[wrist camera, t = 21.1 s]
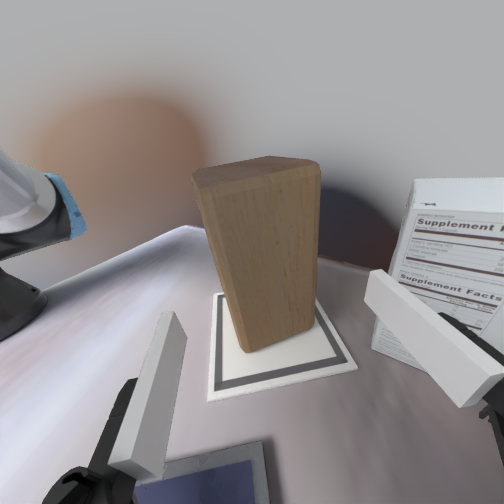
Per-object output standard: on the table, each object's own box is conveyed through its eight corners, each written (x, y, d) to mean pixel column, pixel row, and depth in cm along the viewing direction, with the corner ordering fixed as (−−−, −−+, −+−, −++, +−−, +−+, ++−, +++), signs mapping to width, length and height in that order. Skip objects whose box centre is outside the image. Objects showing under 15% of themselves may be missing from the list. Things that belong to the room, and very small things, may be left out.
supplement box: (489, 402, 17) (685, 223, 8) (368, 350, 22) (408, 207, 13) (470, 322, 23) (570, 173, 14) (380, 296, 28) (412, 176, 20)
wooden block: (283, 283, 33) (273, 153, 22) (317, 329, 24) (327, 157, 14) (226, 302, 31) (187, 170, 21) (243, 359, 22) (192, 186, 12)
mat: (214, 295, 33) (213, 293, 33) (303, 277, 34) (303, 275, 34) (208, 402, 20) (206, 400, 19) (357, 369, 20) (358, 367, 20)
